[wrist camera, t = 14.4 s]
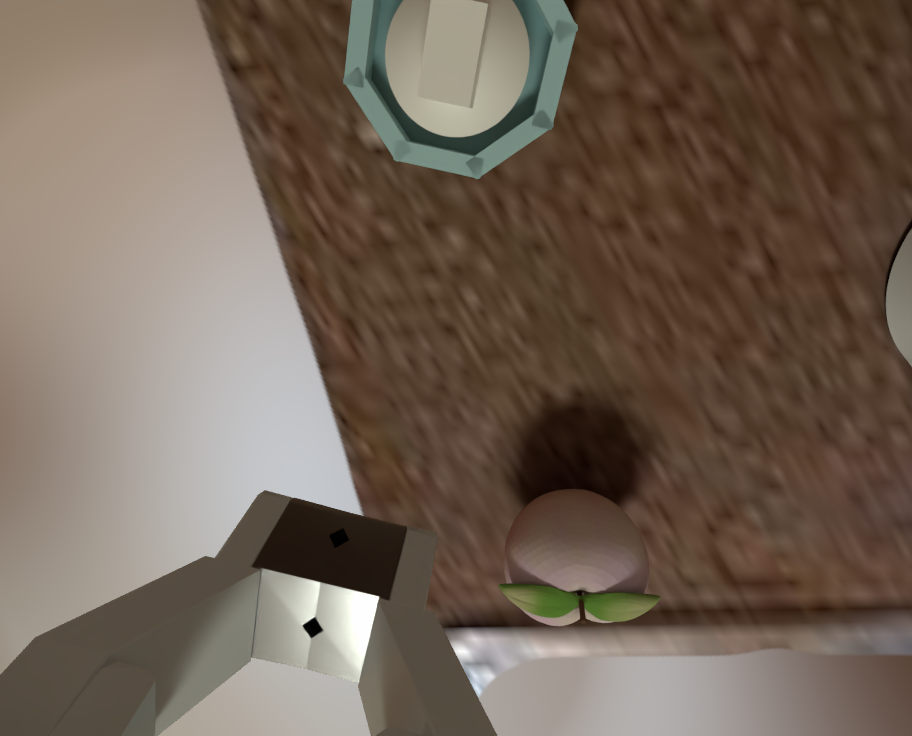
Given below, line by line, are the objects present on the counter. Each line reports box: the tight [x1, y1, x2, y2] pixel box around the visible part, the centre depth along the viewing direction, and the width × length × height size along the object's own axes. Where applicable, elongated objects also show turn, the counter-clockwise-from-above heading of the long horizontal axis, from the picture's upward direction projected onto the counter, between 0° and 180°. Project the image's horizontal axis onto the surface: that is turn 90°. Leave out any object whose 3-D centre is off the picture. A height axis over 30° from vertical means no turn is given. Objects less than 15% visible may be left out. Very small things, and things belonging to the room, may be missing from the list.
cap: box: [385, 0, 530, 137], centre depth 26 cm, size 7×7×4 cm
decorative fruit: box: [499, 489, 661, 626], centre depth 35 cm, size 9×8×10 cm
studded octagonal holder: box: [343, 0, 578, 179], centre depth 28 cm, size 11×11×2 cm
